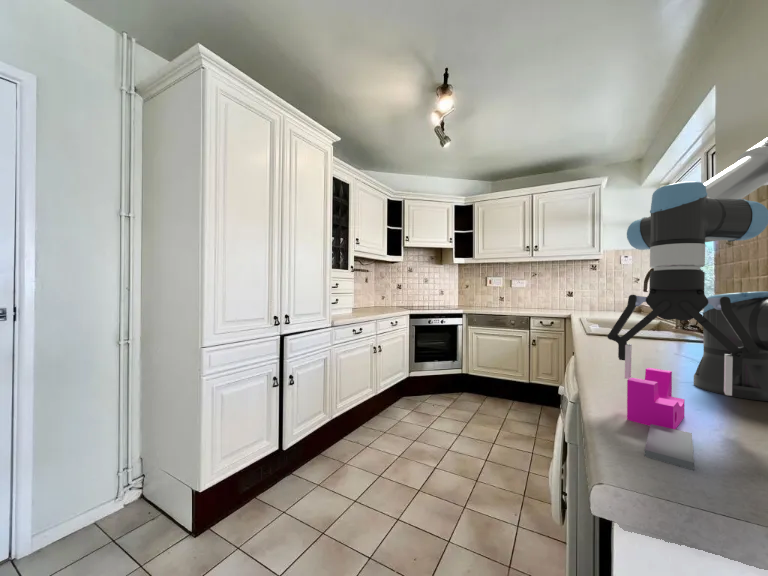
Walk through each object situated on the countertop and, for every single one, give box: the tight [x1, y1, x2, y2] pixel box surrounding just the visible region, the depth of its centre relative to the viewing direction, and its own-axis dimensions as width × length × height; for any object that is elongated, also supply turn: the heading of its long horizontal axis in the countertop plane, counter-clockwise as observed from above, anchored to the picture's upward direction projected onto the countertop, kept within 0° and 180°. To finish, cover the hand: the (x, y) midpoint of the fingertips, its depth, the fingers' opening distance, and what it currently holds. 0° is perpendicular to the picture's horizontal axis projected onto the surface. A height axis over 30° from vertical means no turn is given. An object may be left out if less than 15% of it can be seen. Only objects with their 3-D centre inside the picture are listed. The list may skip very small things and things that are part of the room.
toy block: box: [626, 367, 685, 430], centre depth 60 cm, size 15×6×8 cm, turn 130°
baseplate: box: [644, 424, 695, 471], centre depth 48 cm, size 12×5×1 cm, turn 137°
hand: (673, 385), depth 60 cm, fingers open, 13 cm apart
